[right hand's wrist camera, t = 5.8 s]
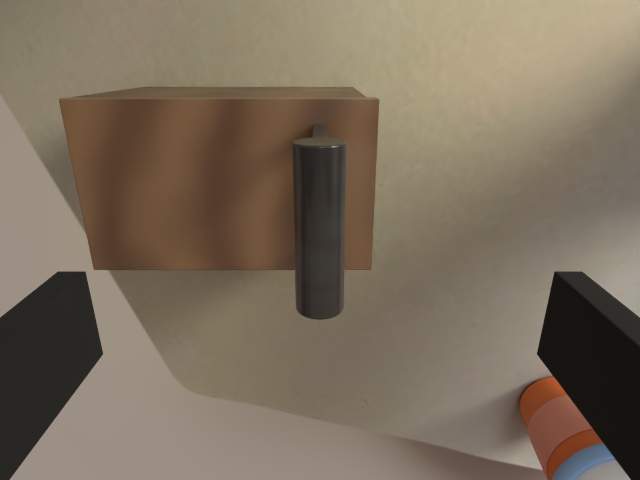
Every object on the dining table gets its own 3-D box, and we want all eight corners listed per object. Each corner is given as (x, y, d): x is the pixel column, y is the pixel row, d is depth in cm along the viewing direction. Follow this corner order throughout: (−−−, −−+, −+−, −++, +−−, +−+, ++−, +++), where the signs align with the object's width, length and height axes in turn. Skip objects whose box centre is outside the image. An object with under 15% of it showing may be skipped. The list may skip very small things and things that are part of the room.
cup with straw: (500, 437, 47) (601, 646, 30) (507, 366, 43) (624, 556, 27) (589, 432, 46) (740, 640, 30) (602, 360, 43) (781, 548, 26)
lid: (376, 97, 24) (405, 114, 16) (369, 262, 28) (389, 342, 20) (69, 97, 24) (-54, 114, 16) (101, 262, 28) (14, 342, 20)
